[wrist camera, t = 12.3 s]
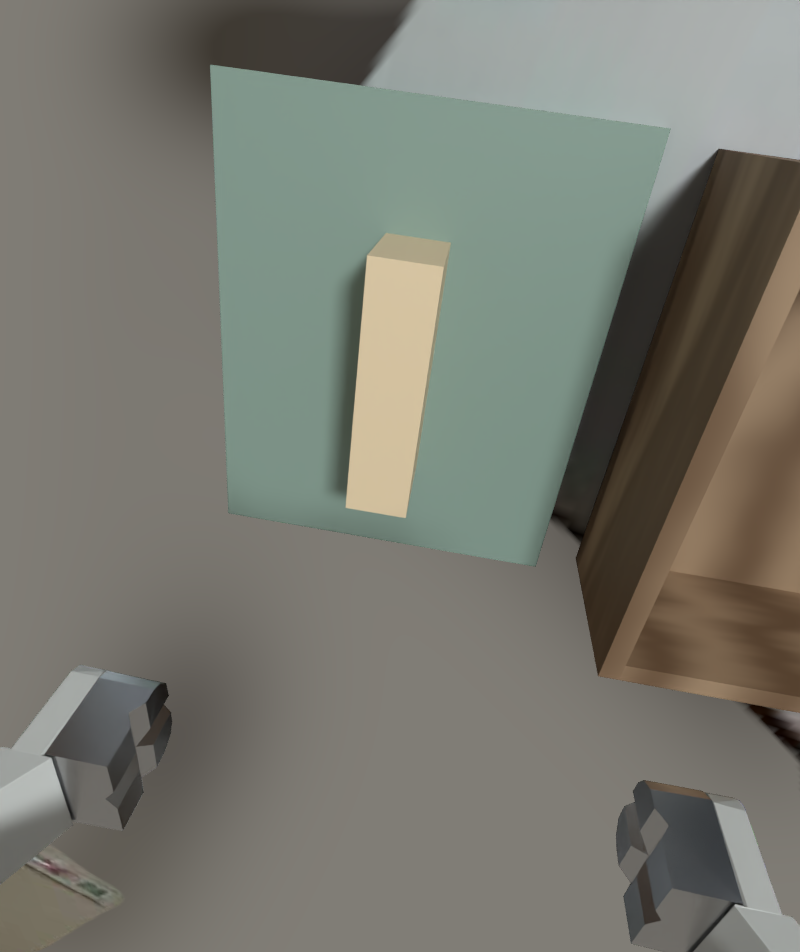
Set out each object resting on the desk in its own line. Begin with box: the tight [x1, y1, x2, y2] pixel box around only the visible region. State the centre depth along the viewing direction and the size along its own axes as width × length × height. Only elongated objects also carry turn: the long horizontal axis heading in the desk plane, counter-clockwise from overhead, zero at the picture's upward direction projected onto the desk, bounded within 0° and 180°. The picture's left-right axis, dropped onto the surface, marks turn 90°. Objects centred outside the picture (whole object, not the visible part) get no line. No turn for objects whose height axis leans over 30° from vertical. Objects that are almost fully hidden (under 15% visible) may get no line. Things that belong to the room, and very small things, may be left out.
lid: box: [210, 65, 671, 566], centre depth 29 cm, size 19×23×6 cm
